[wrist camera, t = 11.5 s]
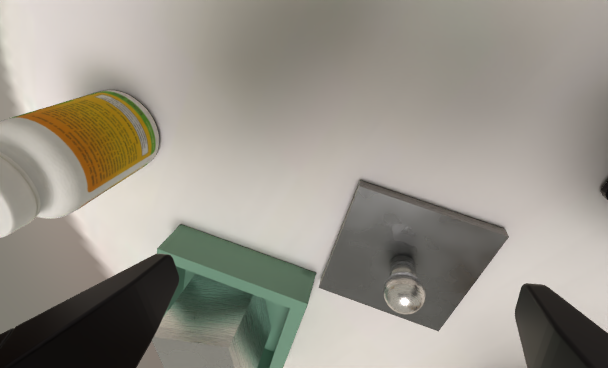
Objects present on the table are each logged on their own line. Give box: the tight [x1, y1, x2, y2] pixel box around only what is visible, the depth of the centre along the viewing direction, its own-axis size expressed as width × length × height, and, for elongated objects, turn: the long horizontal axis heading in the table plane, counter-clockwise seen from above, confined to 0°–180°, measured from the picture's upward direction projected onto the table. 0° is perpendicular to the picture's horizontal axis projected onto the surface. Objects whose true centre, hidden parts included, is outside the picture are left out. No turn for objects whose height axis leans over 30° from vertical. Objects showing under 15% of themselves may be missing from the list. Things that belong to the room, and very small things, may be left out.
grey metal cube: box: [152, 273, 271, 368], centre depth 25 cm, size 6×6×6 cm
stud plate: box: [319, 180, 509, 331], centre depth 20 cm, size 9×9×4 cm
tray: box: [157, 224, 316, 368], centre depth 27 cm, size 11×11×3 cm
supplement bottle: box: [0, 90, 159, 237], centre depth 18 cm, size 5×5×10 cm
